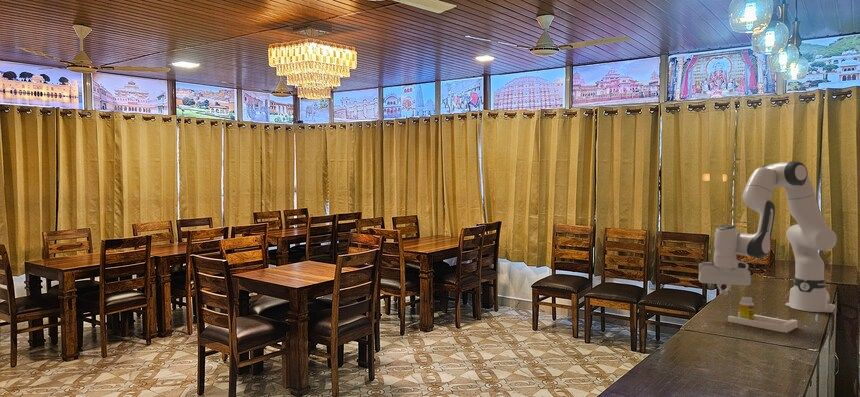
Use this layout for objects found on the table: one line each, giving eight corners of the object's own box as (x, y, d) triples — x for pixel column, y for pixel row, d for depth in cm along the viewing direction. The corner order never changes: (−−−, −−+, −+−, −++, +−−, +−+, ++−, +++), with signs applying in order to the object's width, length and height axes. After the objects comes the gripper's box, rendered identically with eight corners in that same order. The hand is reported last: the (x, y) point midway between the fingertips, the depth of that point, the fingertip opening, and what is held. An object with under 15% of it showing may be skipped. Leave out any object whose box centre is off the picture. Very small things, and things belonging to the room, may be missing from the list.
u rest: (739, 316, 245) (739, 310, 245) (797, 327, 228) (797, 320, 228) (727, 321, 237) (727, 314, 237) (786, 332, 220) (786, 325, 220)
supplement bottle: (749, 324, 233) (750, 299, 233) (736, 321, 238) (736, 297, 238) (756, 322, 236) (757, 298, 236) (743, 319, 241) (743, 295, 241)
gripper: (700, 262, 243) (699, 294, 243) (752, 265, 238) (751, 297, 238) (697, 260, 249) (696, 291, 250) (748, 262, 244) (747, 294, 244)
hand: (723, 294), depth 244 cm, fingers closed
